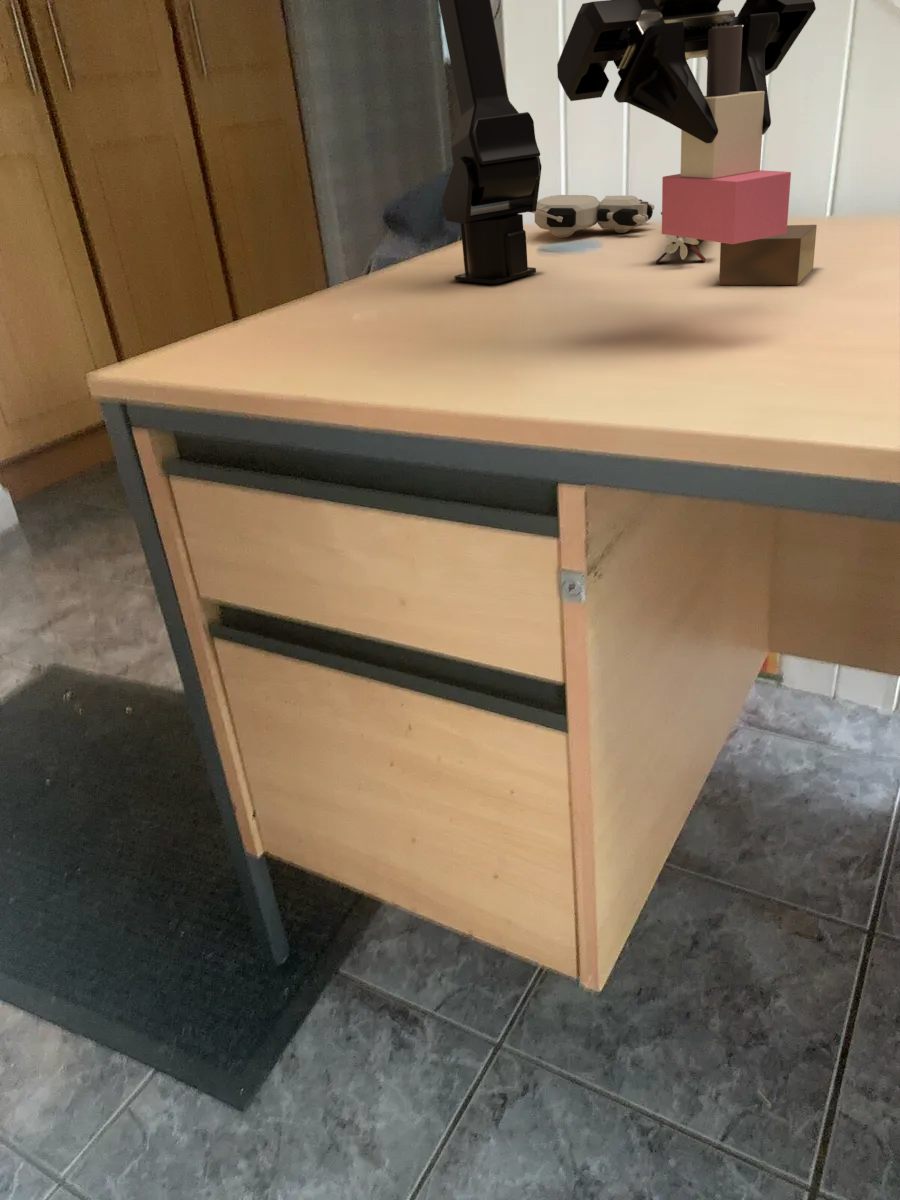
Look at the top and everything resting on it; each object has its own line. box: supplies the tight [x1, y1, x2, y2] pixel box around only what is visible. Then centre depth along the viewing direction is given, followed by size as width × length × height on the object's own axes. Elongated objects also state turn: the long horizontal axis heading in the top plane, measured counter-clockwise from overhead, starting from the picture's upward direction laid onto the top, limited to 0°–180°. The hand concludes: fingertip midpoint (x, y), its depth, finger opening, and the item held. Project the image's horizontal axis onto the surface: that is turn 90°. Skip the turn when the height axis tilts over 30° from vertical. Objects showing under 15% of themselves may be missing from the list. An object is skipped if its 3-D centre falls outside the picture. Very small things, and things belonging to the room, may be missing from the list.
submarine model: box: [655, 211, 707, 264], centre depth 106 cm, size 31×7×10 cm
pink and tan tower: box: [661, 25, 792, 244], centre depth 65 cm, size 8×5×13 cm, turn 26°
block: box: [718, 224, 818, 286], centre depth 87 cm, size 7×7×4 cm
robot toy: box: [531, 194, 655, 239], centre depth 120 cm, size 12×4×15 cm
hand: (739, 134), depth 64 cm, fingers closed on pink and tan tower, 4 cm apart
